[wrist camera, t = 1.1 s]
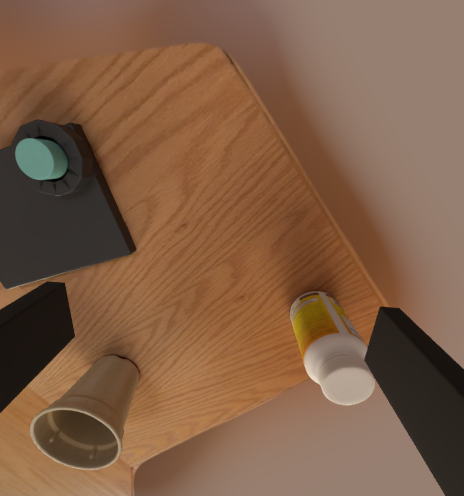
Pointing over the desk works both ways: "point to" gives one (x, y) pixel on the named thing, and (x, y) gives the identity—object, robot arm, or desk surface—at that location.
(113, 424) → the flower pot
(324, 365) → the supplement bottle
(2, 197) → the scale
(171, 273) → the desk surface
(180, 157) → the desk surface
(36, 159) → the button
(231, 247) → the desk surface
